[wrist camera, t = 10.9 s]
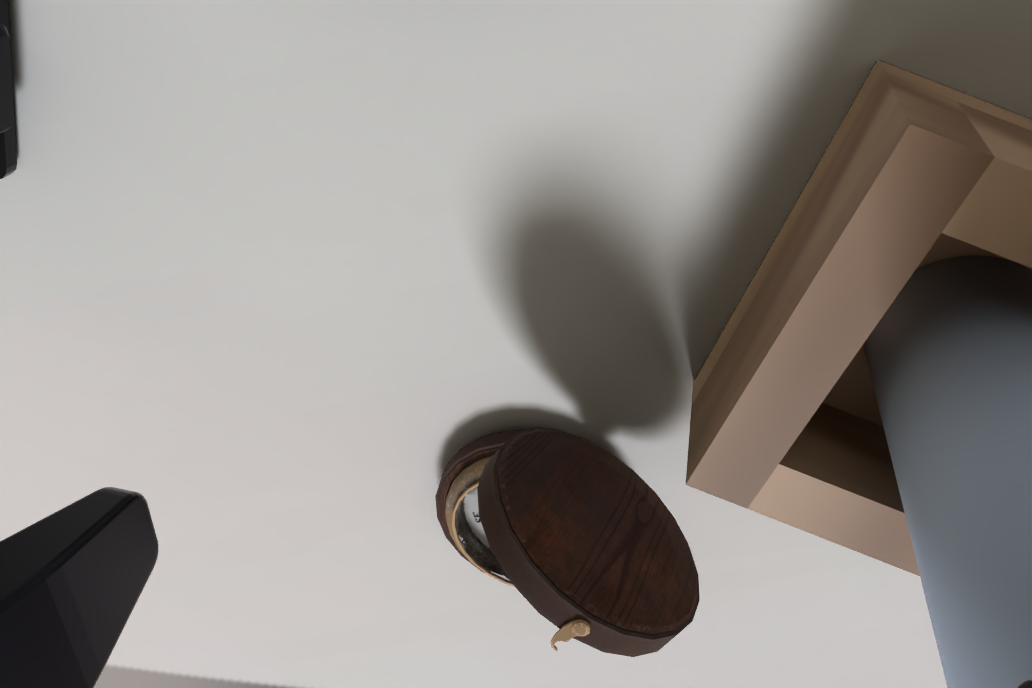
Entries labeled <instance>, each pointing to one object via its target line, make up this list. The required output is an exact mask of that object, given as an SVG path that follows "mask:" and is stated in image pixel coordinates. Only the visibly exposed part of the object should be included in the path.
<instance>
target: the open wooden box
mask: <svg viewBox="0 0 1032 688" xmlns="http://www.w3.org/2000/svg"><path fill="white" fill-rule="evenodd" d="M977 255H980V256H992V257H997V258H1003V259H1007V260H1010V261H1013V262H1016V263H1018V264H1020V265H1022V266H1025V267H1027V268H1028V269H1030V270H1032V120H1031V119H1029V118H1026V117H1024V116H1021V115H1018V114H1016V113H1013V112H1011V111H1008V110H1006V109H1003V108H1000V107H998V106H995V105H993V104H990V103H988V102H985V101H982V100H980V99H977V98H975V97H972V96H970V95H967V94H964V93H962V92H959V91H957V90H954V89H952V88H949V87H947V86H944V85H941V84H939V83H936V82H934V81H931V80H929V79H926V78H923V77H921V76H918V75H916V74H913V73H911V72H908V71H905V70H903V69H900V68H898V67H895V66H893V65H890V64H888V63H885V62H882V61H880V60H877V61H876V63H875V65H874V67H873V68H872V70H871V72H870V74H869V76H868V77H867V79H866V81H865V83H864V84H863V86H862V88H861V90H860V91H859V93H858V95H857V97H856V98H855V100H854V102H853V104H852V105H851V107H850V109H849V111H848V112H847V114H846V116H845V118H844V119H843V121H842V123H841V125H840V126H839V128H838V130H837V132H836V133H835V135H834V137H833V139H832V140H831V142H830V144H829V146H828V147H827V149H826V151H825V153H824V154H823V156H822V158H821V160H820V161H819V163H818V165H817V167H816V168H815V170H814V172H813V174H812V175H811V177H810V179H809V181H808V182H807V184H806V186H805V188H804V190H803V191H802V193H801V195H800V197H799V198H798V200H797V202H796V204H795V205H794V207H793V209H792V211H791V212H790V214H789V216H788V218H787V219H786V221H785V223H784V225H783V226H782V228H781V230H780V232H779V233H778V235H777V237H776V239H775V240H774V242H773V244H772V246H771V247H770V249H769V251H768V253H767V254H766V256H765V258H764V260H763V261H762V263H761V265H760V267H759V268H758V270H757V272H756V274H755V275H754V277H753V279H752V281H751V282H750V284H749V286H748V288H747V289H746V291H745V293H744V295H743V296H742V298H741V300H740V302H739V304H738V305H737V307H736V309H735V311H734V312H733V314H732V316H731V318H730V319H729V321H728V323H727V325H726V326H725V328H724V330H723V332H722V333H721V335H720V337H719V339H718V340H717V342H716V344H715V346H714V347H713V349H712V351H711V353H710V354H709V356H708V358H707V360H706V361H705V363H704V365H703V367H702V368H701V370H700V372H699V374H698V375H697V377H696V379H695V381H694V382H693V394H692V407H691V421H690V434H689V448H688V462H687V475H686V485H688V486H691V487H693V488H696V489H699V490H701V491H704V492H706V493H709V494H711V495H714V496H716V497H719V498H722V499H724V500H727V501H729V502H732V503H734V504H737V505H739V506H742V507H745V508H747V509H750V510H752V511H755V512H757V513H760V514H762V515H765V516H768V517H770V518H773V519H775V520H778V521H780V522H783V523H785V524H788V525H791V526H793V527H796V528H798V529H801V530H803V531H806V532H808V533H811V534H814V535H816V536H819V537H821V538H824V539H826V540H829V541H831V542H834V543H837V544H839V545H842V546H844V547H847V548H849V549H852V550H854V551H857V552H860V553H862V554H865V555H867V556H870V557H872V558H875V559H877V560H880V561H883V562H885V563H888V564H890V565H893V566H895V567H898V568H900V569H903V570H906V571H908V572H911V573H913V574H916V575H918V576H920V573H919V569H918V565H917V561H916V557H915V553H914V549H913V545H912V541H911V537H910V533H909V529H908V525H907V520H906V516H905V512H904V508H903V504H902V500H901V496H900V492H899V488H898V484H897V480H896V476H895V472H894V468H893V464H892V460H891V455H890V451H889V447H888V443H887V439H886V435H885V431H884V427H883V423H882V419H881V415H880V411H879V407H878V403H877V399H876V395H875V390H874V386H873V382H872V378H871V374H870V370H869V366H868V362H867V358H866V354H865V349H864V342H865V341H866V339H867V338H868V337H869V335H870V334H871V332H872V331H873V329H874V328H875V327H876V325H877V324H878V322H879V321H880V320H881V318H882V317H883V315H884V314H885V312H886V311H887V310H888V308H889V307H890V305H891V304H892V303H893V301H894V300H895V298H896V297H897V295H898V294H899V293H900V291H901V290H902V288H903V287H904V285H905V284H906V283H907V281H908V280H909V278H910V277H911V276H912V274H913V273H914V271H915V270H917V269H919V268H921V267H923V266H925V265H928V264H931V263H934V262H937V261H940V260H944V259H948V258H953V257H960V256H977Z"/></svg>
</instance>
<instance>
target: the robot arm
mask: <svg viewBox="0 0 1032 688" xmlns="http://www.w3.org/2000/svg"><path fill="white" fill-rule="evenodd" d="M16 166H17V156H16V138H15V120H14V102H13V84H12V66H11V47H10V30H9V11H8V0H0V179H2V178H4V177H6V176H8V175H10V174H12V173H13V172H14V171H15V170H16ZM157 555H158V541H157V537H156V533H155V530H154V526H153V522H152V519H151V515H150V512H149V508H148V504H147V501H146V499H145V498H144V497H143V496H142V495H141V494H140V493H137V492H133V491H128V490H124V489H119V488H113V487H107V488H102V489H100V490H97V491H95V492H93V493H91V494H90V495H88V496H86V497H84V498H82V499H80V500H78V501H76V502H74V503H72V504H71V505H69V506H67V507H65V508H63V509H61V510H59V511H57V512H55V513H53V514H52V515H50V516H48V517H46V518H44V519H42V520H40V521H38V522H36V523H34V524H33V525H31V526H29V527H27V528H25V529H23V530H21V531H19V532H17V533H16V534H14V535H12V536H10V537H8V538H6V539H4V540H2V541H0V688H93V687H94V686H95V684H96V681H97V680H98V678H99V676H100V674H101V672H102V671H103V669H104V667H105V665H106V663H107V660H108V658H109V656H110V654H111V652H112V650H113V648H114V646H115V644H116V642H117V640H118V638H119V636H120V634H121V632H122V630H123V628H124V626H125V624H126V622H127V620H128V618H129V616H130V614H131V612H132V610H133V608H134V606H135V604H136V602H137V600H138V598H139V596H140V594H141V592H142V590H143V588H144V586H145V584H146V582H147V580H148V578H149V576H150V574H151V572H152V570H153V568H154V566H155V563H156V560H157ZM1017 688H1032V680H1027V681H1025V682H1023V683H1021V684H1020V685H1019V686H1018V687H1017Z"/></svg>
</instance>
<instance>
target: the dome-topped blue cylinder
mask: <svg viewBox="0 0 1032 688" xmlns="http://www.w3.org/2000/svg"><path fill="white" fill-rule="evenodd" d="M864 349H865V354H866V358H867V362H868V366H869V370H870V374H871V378H872V382H873V386H874V390H875V395H876V399H877V403H878V407H879V411H880V415H881V419H882V423H883V427H884V431H885V435H886V439H887V443H888V447H889V451H890V455H891V460H892V464H893V468H894V472H895V476H896V480H897V484H898V488H899V492H900V496H901V500H902V504H903V508H904V512H905V516H906V520H907V525H908V529H909V533H910V537H911V541H912V545H913V549H914V553H915V557H916V561H917V565H918V569H919V573H920V577H921V581H922V585H923V589H924V594H925V598H926V602H927V606H928V610H929V614H930V618H931V622H932V626H933V630H934V634H935V638H936V642H937V646H938V650H939V654H940V659H941V663H942V667H943V671H944V675H945V679H946V683H947V687H948V688H1017V687H1018V686H1019V685H1020V684H1021V683H1023V682H1025V681H1027V680H1032V270H1030V269H1028V268H1027V267H1025V266H1022V265H1020V264H1018V263H1016V262H1013V261H1010V260H1007V259H1003V258H997V257H992V256H980V255H977V256H960V257H953V258H948V259H944V260H940V261H937V262H934V263H931V264H928V265H925V266H923V267H921V268H919V269H917V270H915V271H914V273H913V274H912V276H911V277H910V278H909V280H908V281H907V283H906V284H905V285H904V287H903V288H902V290H901V291H900V293H899V294H898V295H897V297H896V298H895V300H894V301H893V303H892V304H891V305H890V307H889V308H888V310H887V311H886V312H885V314H884V315H883V317H882V318H881V320H880V321H879V322H878V324H877V325H876V327H875V328H874V329H873V331H872V332H871V334H870V335H869V337H868V338H867V339H866V341H865V342H864Z"/></svg>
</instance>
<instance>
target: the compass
mask: <svg viewBox="0 0 1032 688" xmlns="http://www.w3.org/2000/svg"><path fill="white" fill-rule="evenodd" d="M436 508H437V518H438V520H439V522H440V525H441V527H442V529H443V531H444V534H445V536H446V538H447V539H448V540H449V541H450V543H451V544H452V545H453V546H454V547H455V549H456V550H457V551H458V552H459V553H460V555H461V556H462V557H464V558H465V559H466V560H467V561H469V562H470V563H471V564H473V565H474V566H475V567H477V568H478V569H479V570H481V571H482V572H484V573H486V574H487V575H489V576H491V577H493V578H495V579H497V580H499V581H501V582H503V583H505V584H508V585H511V586H514V587H516V588H517V589H518V590H519V592H520V593H521V594H522V595H523V596H524V597H525V598H526V599H527V600H528V602H529V603H530V604H531V605H532V606H533V607H534V608H535V609H536V610H537V611H538V613H540V614H541V615H542V616H544V617H545V618H546V619H548V620H549V621H550V622H552V623H553V624H554V625H556V626H557V627H558V628H560V630H559V631H558V632H557V633H556V634H555V635H554V637H553V638H552V640H551V646H552V648H553V649H555V650H556V651H557V647H556V646H555V645H554V643H555V642H557V641H564V642H567V641H568V640H570V639H571V638H574V639H576V640H579V641H581V642H583V643H585V644H587V645H589V646H591V647H594V648H596V649H598V650H600V651H602V652H606V653H612V654H618V655H625V656H631V657H635V656H640V655H644V654H648V653H653V652H657V651H658V650H660V649H661V648H662V647H663V646H664V645H665V644H667V643H668V642H669V641H670V640H671V639H672V638H674V637H675V636H676V635H677V634H678V633H679V632H681V631H682V630H683V629H684V628H685V627H686V626H687V625H688V624H690V623H691V622H692V621H693V618H694V615H695V612H696V609H697V606H698V603H699V582H698V573H697V570H696V567H695V563H694V560H693V557H692V554H691V551H690V548H689V545H688V543H687V541H686V539H685V537H684V535H683V533H682V531H681V530H680V528H679V526H678V524H677V522H676V520H675V518H674V517H673V515H672V514H671V513H670V511H669V510H668V509H667V507H666V506H665V505H664V503H663V502H662V501H661V499H660V498H659V497H658V495H657V494H656V493H655V492H654V491H653V490H652V489H651V488H650V487H649V486H648V485H647V484H646V483H645V482H644V481H643V480H642V479H641V478H640V477H639V476H638V475H637V474H636V473H635V472H634V471H633V470H632V469H631V468H629V467H628V466H627V465H625V464H624V463H623V462H621V461H620V460H619V459H618V458H616V457H615V456H614V455H612V454H611V453H610V452H608V451H606V450H604V449H602V448H600V447H599V446H597V445H595V444H593V443H591V442H589V441H588V440H586V439H583V438H580V437H577V436H574V435H571V434H568V433H565V432H562V431H559V430H553V429H536V428H532V429H529V430H526V431H505V432H501V433H497V434H492V435H488V436H484V437H481V438H479V439H477V440H476V441H474V442H472V443H470V444H469V445H467V446H465V447H463V448H462V449H460V450H459V452H458V453H457V454H456V455H455V456H454V458H453V459H452V460H451V461H450V462H449V463H448V465H447V466H446V469H445V471H444V473H443V476H442V478H441V481H440V484H439V488H438V491H437V494H436Z"/></svg>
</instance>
